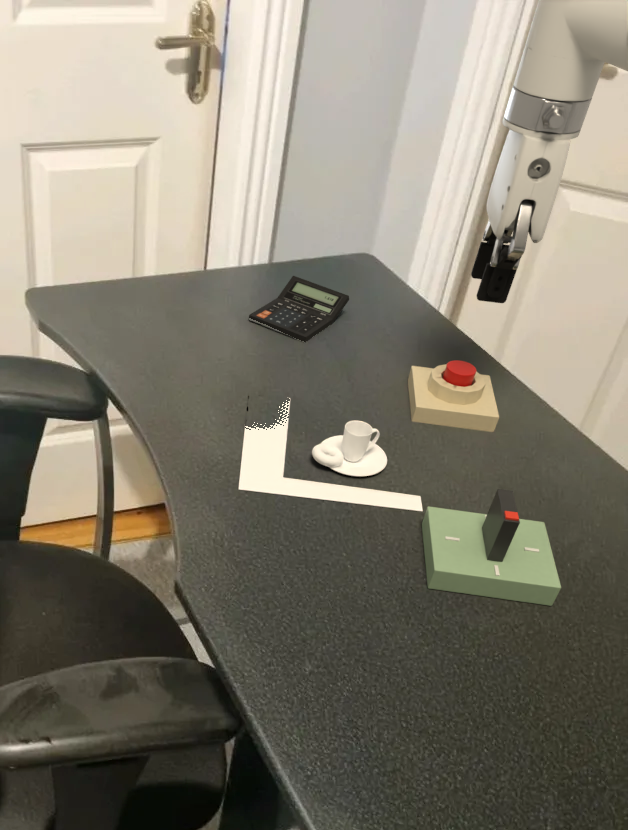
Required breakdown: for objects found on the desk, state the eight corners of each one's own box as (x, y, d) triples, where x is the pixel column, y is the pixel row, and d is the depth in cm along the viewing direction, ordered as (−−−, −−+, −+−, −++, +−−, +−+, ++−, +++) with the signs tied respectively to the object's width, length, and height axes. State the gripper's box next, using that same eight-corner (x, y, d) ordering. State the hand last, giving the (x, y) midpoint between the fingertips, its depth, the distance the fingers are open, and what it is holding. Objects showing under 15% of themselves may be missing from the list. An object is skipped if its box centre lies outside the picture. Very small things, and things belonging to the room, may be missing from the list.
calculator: (248, 320, 121) (251, 300, 118) (291, 294, 127) (294, 274, 125) (304, 343, 117) (308, 322, 115) (346, 314, 124) (350, 294, 122)
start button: (470, 374, 106) (474, 362, 105) (473, 389, 104) (478, 376, 102) (441, 371, 106) (445, 358, 105) (443, 385, 104) (447, 373, 103)
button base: (484, 390, 111) (494, 362, 108) (493, 432, 104) (504, 404, 101) (407, 380, 111) (415, 352, 109) (411, 422, 104) (419, 393, 102)
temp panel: (535, 540, 89) (545, 520, 88) (552, 606, 82) (562, 586, 80) (421, 524, 90) (428, 504, 88) (427, 588, 83) (435, 568, 81)
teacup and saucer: (309, 474, 95) (316, 443, 92) (310, 434, 101) (316, 404, 98) (388, 483, 95) (397, 453, 92) (384, 443, 101) (392, 413, 98)
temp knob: (481, 527, 86) (498, 486, 83) (496, 529, 86) (513, 488, 83) (487, 560, 83) (504, 518, 79) (502, 562, 83) (521, 520, 79)
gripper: (602, 143, 78) (532, 328, 91) (568, 93, 90) (510, 262, 103) (519, 134, 78) (461, 319, 91) (496, 85, 90) (447, 255, 103)
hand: (487, 287), depth 97 cm, fingers open, 5 cm apart
